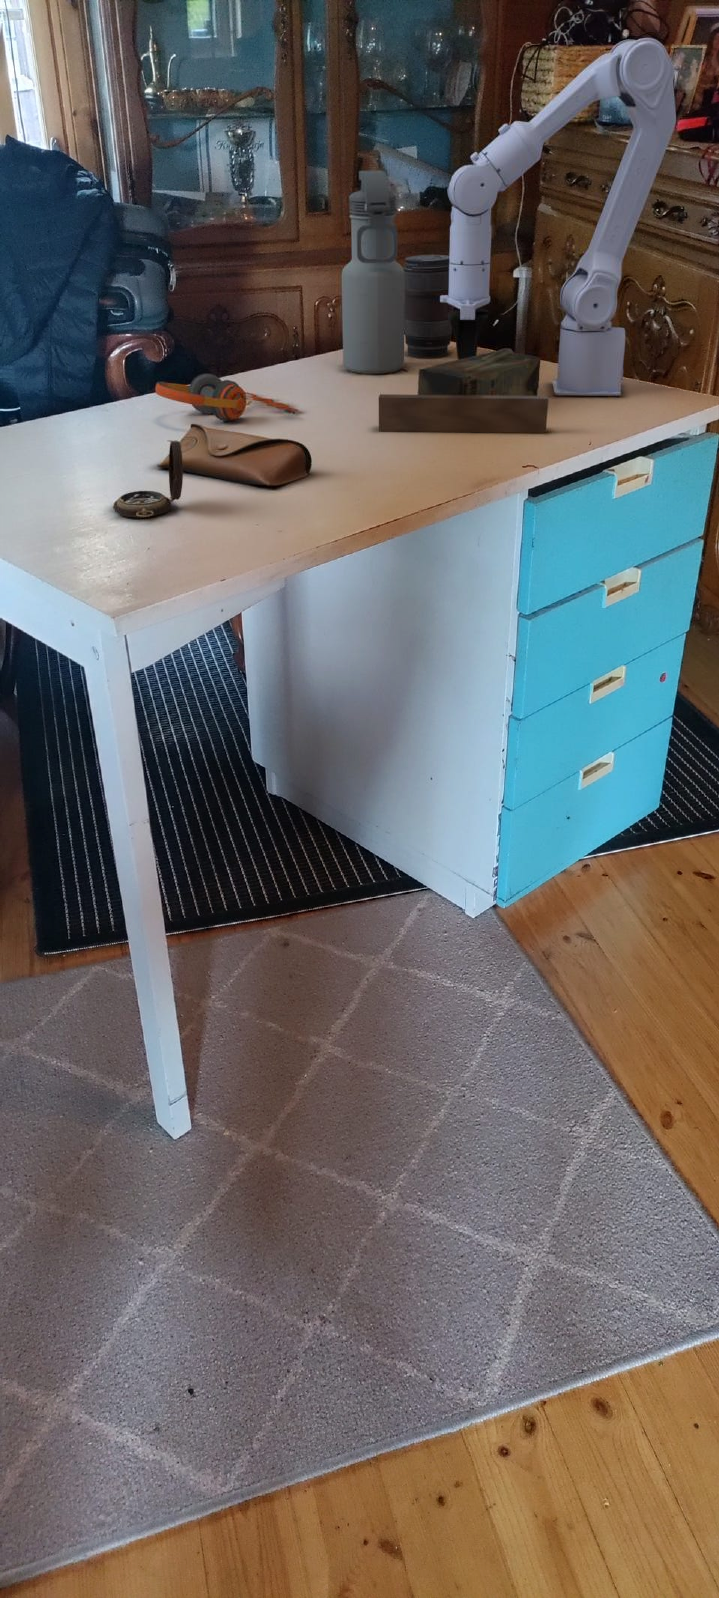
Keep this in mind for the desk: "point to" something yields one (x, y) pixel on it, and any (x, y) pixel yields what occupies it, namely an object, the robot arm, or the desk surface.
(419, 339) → the camera lens
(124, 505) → the compass
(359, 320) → the water bottle
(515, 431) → the backstop rail
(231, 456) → the sunglasses case
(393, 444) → the desk surface
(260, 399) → the headphones
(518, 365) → the beverage carton
